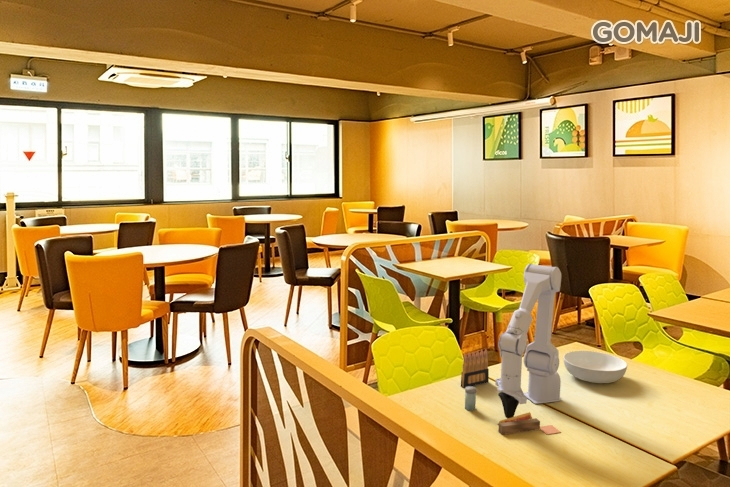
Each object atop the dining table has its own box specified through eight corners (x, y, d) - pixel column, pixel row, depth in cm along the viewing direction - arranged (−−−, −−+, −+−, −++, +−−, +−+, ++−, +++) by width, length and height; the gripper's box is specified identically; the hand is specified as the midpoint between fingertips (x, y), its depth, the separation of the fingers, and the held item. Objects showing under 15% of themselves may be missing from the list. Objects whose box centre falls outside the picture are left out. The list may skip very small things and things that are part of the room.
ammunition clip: (463, 388, 191) (465, 354, 190) (460, 386, 193) (461, 352, 191) (488, 382, 196) (489, 349, 195) (485, 380, 198) (486, 347, 196)
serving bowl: (637, 390, 190) (638, 371, 189) (574, 390, 190) (575, 370, 189) (611, 368, 211) (612, 350, 210) (554, 367, 211) (555, 349, 210)
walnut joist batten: (535, 426, 164) (536, 418, 164) (539, 429, 162) (540, 421, 162) (498, 431, 161) (498, 423, 160) (501, 434, 159) (502, 426, 159)
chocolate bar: (533, 420, 169) (533, 413, 169) (502, 430, 163) (502, 422, 163) (526, 417, 171) (526, 410, 171) (496, 426, 166) (496, 419, 165)
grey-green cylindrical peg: (472, 405, 178) (473, 385, 177) (477, 410, 175) (478, 389, 174) (462, 406, 177) (463, 387, 176) (467, 411, 174) (468, 391, 173)
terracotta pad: (551, 425, 165) (551, 424, 165) (560, 432, 160) (561, 432, 160) (538, 427, 163) (538, 426, 163) (547, 434, 159) (547, 434, 159)
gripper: (486, 365, 171) (485, 408, 173) (511, 383, 158) (509, 430, 160) (507, 363, 173) (506, 405, 175) (534, 381, 159) (531, 426, 161)
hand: (509, 417), depth 168 cm, fingers closed
